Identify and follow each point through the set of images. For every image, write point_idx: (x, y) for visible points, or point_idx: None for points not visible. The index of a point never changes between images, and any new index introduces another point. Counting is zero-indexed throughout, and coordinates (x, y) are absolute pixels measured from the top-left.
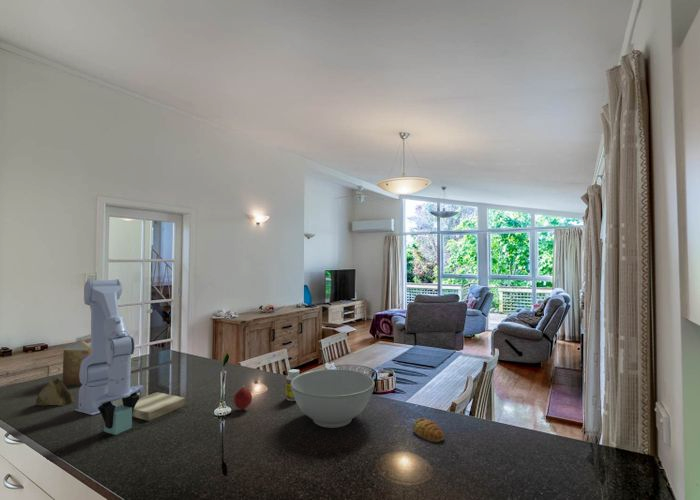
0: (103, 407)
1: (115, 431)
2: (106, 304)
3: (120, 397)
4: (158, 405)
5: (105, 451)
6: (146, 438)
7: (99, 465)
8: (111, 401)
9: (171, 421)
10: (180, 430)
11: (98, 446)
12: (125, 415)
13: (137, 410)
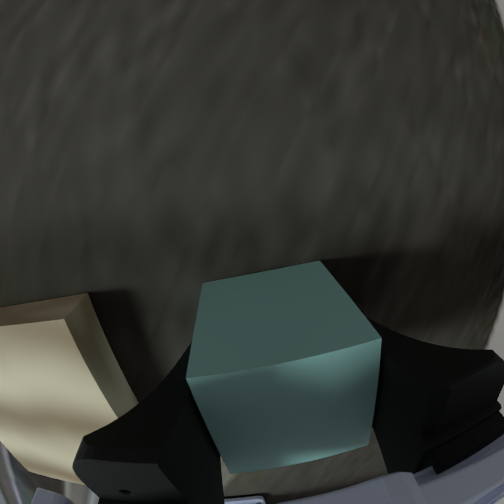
0: (493, 401)
1: (325, 268)
2: None
3: (423, 490)
4: (13, 371)
5: (437, 95)
6: (223, 31)
7: (473, 17)
8: (418, 476)
9: (11, 170)
10: (54, 7)
11: (434, 186)
12: (261, 331)
13: (117, 414)
